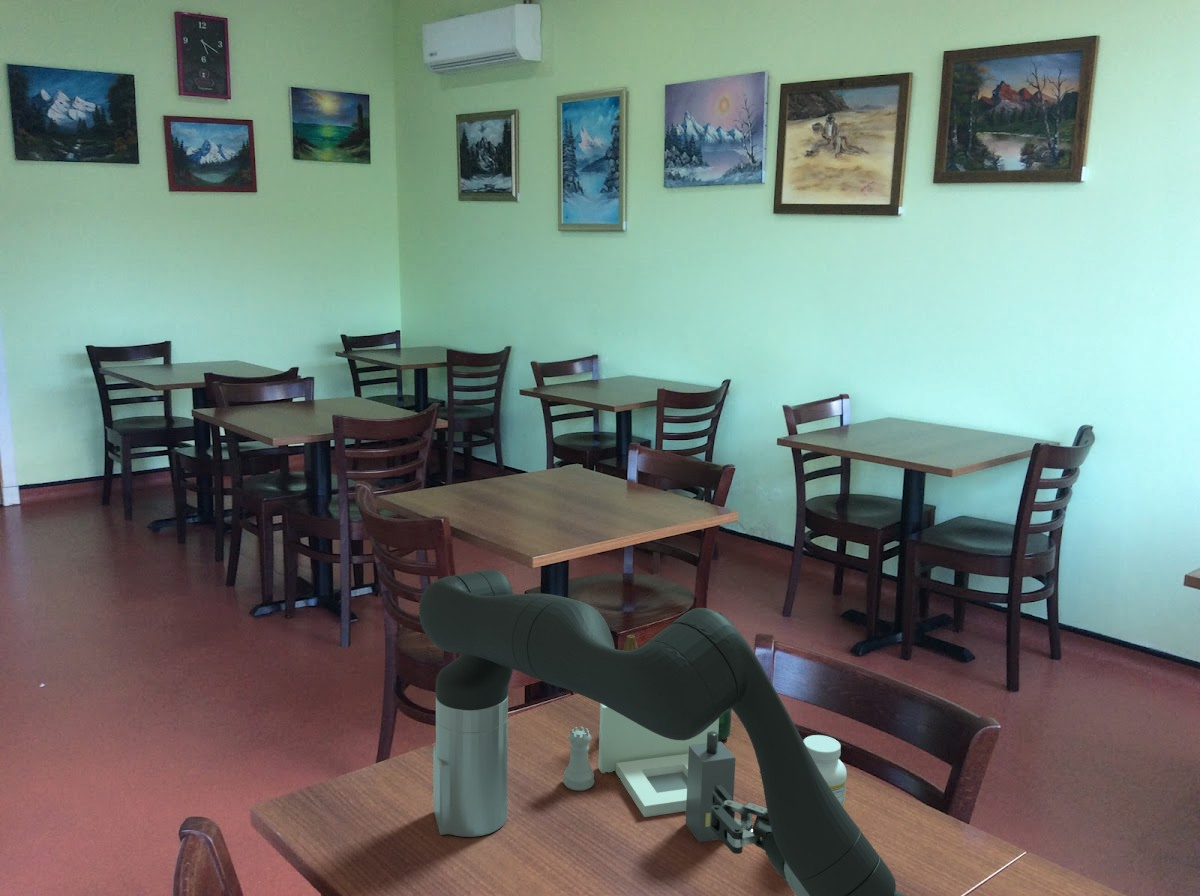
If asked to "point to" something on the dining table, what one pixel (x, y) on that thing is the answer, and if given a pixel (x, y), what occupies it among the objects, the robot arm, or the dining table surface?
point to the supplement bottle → (828, 763)
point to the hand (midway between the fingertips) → (750, 787)
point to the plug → (707, 783)
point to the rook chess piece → (579, 762)
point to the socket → (647, 762)
